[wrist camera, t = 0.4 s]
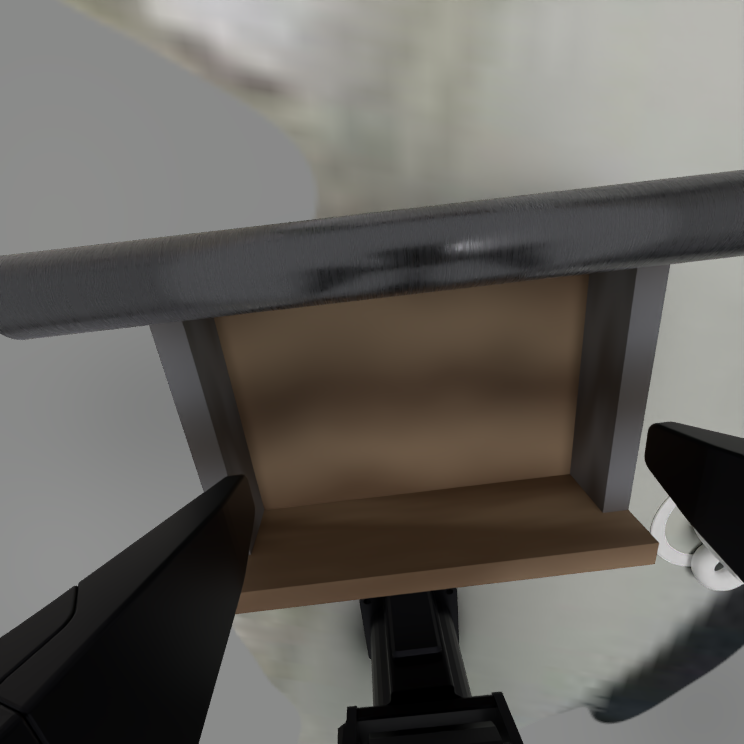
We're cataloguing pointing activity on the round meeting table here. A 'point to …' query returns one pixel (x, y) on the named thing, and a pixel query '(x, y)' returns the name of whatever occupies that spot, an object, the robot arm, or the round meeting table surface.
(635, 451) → the brown and grey drawer
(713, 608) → the round meeting table surface
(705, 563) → the teacup and saucer
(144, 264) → the panel
